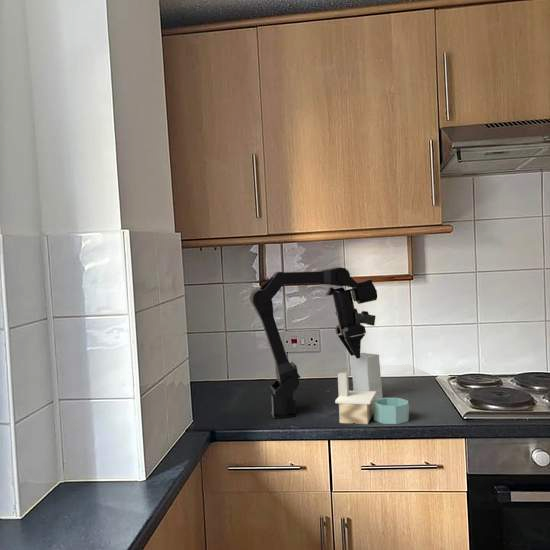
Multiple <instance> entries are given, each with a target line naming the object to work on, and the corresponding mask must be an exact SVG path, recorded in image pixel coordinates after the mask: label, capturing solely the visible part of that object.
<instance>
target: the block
mask: <svg viewBox="0 0 550 550" xmlns="http://www.w3.org/2000/svg"><path fill="white" fill-rule="evenodd" d="M373 403H374V401H372V402H371V404H346V403H338V414H339V417H338V418H339V423H340V424H353V423H355V425H356V424H359V425H368V424H369V423H370V420H371V419H372V417H373V416H374V409H373Z"/></svg>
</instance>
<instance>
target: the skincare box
mask: <svg viewBox="0 0 550 550" xmlns="http://www.w3.org/2000/svg"><path fill="white" fill-rule="evenodd" d="M350 362H351V363H350V364H351V377H352V378H351V379H352V388H353V389H352V391H376V395H375V397H374V399H373V402H374V401H375V400H376V399H381V398H384V397H383V388H382V386H383V385H382V376H381V364H380V363H381V362H380V354H377V353H366V352H360V358H358V359H357V358H356V357H355V355H353V356H351V355H350Z"/></svg>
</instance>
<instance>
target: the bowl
mask: <svg viewBox="0 0 550 550" xmlns="http://www.w3.org/2000/svg"><path fill="white" fill-rule="evenodd" d="M409 407H410V405H409V400H407V399H404V398H401V397H383V398H381V399H376V400H375V401H373V409H374V413H373V421H374V422H378V423H380V424H384V425H388V424H389V425H400V424H402V423H403V424H405V423H407V422H409V419H410V409H409Z"/></svg>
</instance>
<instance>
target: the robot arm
mask: <svg viewBox="0 0 550 550" xmlns="http://www.w3.org/2000/svg"><path fill="white" fill-rule="evenodd" d="M304 284H305V285H306V284H322V285H323V284H324V285H329V286H330V287H329V288H328V290H327V292H326V293H325V296H327V297H328V296H332V297H333V303H334V307H335V316H337V321H338V324H337V325H336V326H335V333H336V335H337V337H338V338H339V340H340V341H341V343H342V344H343V346H344V347H345V349H346V350H347V352H348V353H349V355H350V357H351V356H353V355H355V357H356V358H357V359H358V358H360V353H361V346H362V345H361V344H362V343H361V342H362V339H364V337H365V335H366V333H367V330H366V326H364V325H365V324H366V325H369V326H373V327H374V326H375V323H376V316H377V315H373V314H369V311H365V310H362V311H361V312H359V311H358V309H357V308H356V307H355V305H354V304H355V303H354V302H356V303H357V304H358V305H361V304H365V303H369V302H370V303H371V302H375V301H377V299H378V290H377V289H376V287H375V284H374V283H373V279H365V280H362V281H356V280H354V278H352V276H351V273H350V271H349V270H348V269H347V268H346V267H339V266H335V267H330V268H325V269H322V270H318V271H317V270H315V271H285V272H284V271H275V272H274V273H273V274H272V276H271V277H270V278H269V279H268V280H267V281H266V282H264V284H262V285H261V286H260V287H259V288H257V289H254V290H253V291H252V292H251V293H250V296H249V302H250V303H251V306H252V308H253V310H254V311H255V312H256V315H257V316H258V317H259V319H260V322H261V324H262V327H263V330H264V333H265V337H266V339H267V341H268V342H267V343H268V346H269V348H270V350H271V354H272V357H273V360H274V363H275V364H274V365H275V375H276V379H275V381H274V382H273V383H272V384H271V385H270V387H269V388H270V389H271V392H272V394H271V412H270V413H271V415H272V417H273V418H274V419H281V418H283V419H284V418H293V417H296V413H297V411H296V399H295V398H294V393H295V391H296V390H297V389H298V387H299V385H300V378H301V376H300V375H299V372H298V367H297V364H295V363H294V362H293V361H291V362H290V361H289V359H288V355H287V353H286V350H285V347H284V344H283V342H282V338H281V335H280V333H279V332H280V331H279V328H278V326H277V323H276V321H275V320H276V319H275V317H274V316H275V315H274V306H273V299H274V297H275V296H276V295H277V293H278V292H279V291H280V290H281V289H282V287H283V286H284V285H304ZM331 286H335V287H337V288H334V287H331ZM344 287H348V288H349V289H345V288H344Z"/></svg>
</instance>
